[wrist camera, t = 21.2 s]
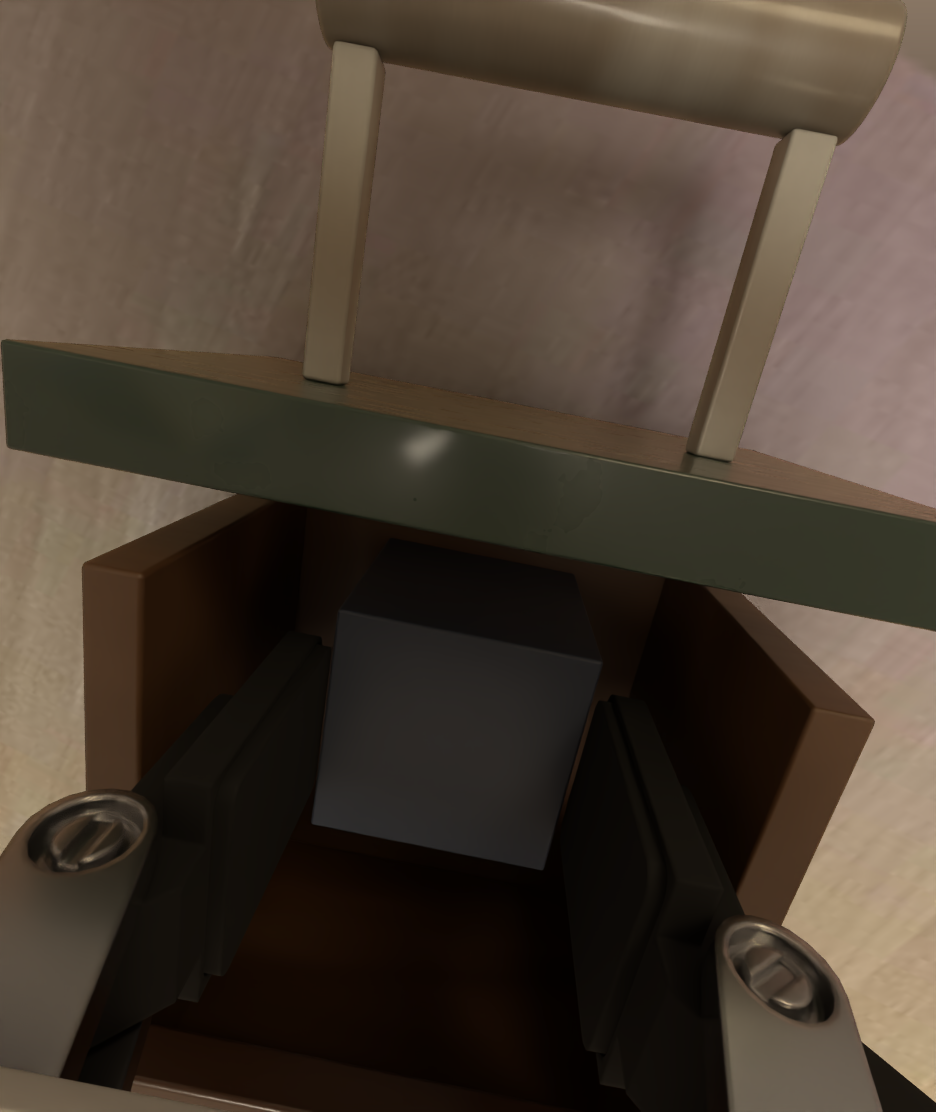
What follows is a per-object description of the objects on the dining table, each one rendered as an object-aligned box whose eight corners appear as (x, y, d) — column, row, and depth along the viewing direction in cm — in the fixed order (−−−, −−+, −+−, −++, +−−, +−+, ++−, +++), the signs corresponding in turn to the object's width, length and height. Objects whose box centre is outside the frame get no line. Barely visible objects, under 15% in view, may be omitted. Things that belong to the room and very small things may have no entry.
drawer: (297, 63, 12) (-47, -439, 5) (848, 169, 12) (1412, -166, 4) (237, 819, 18) (43, 1137, 10) (606, 893, 18) (677, 1267, 10)
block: (389, 536, 14) (337, 609, 10) (575, 573, 14) (604, 662, 10) (365, 699, 15) (310, 825, 11) (534, 733, 15) (544, 872, 11)
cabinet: (238, 694, 18) (-54, 1043, 8) (653, 777, 18) (811, 1219, 8) (213, 1031, 22) (3, 1499, 13) (544, 1098, 22) (569, 1616, 13)
